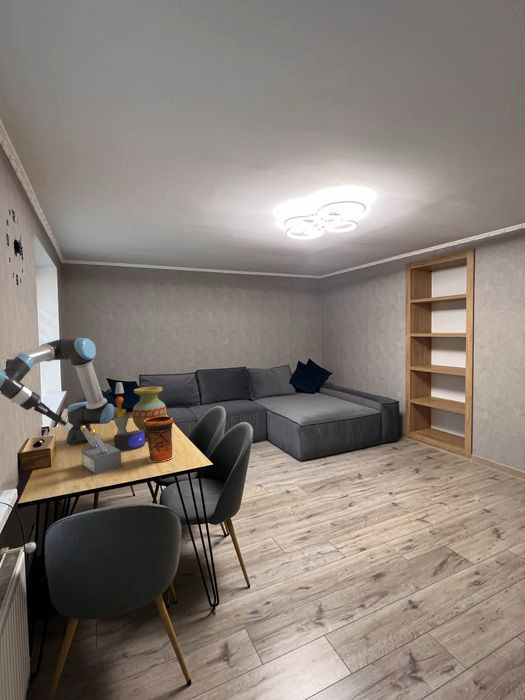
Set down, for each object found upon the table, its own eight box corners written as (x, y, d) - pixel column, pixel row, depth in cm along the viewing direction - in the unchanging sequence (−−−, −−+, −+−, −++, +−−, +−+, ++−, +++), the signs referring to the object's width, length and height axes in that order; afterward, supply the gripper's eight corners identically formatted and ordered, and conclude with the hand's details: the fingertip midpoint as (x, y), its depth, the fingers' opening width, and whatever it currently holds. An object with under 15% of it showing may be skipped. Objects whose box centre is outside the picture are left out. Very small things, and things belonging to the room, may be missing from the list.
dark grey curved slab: (116, 453, 183) (115, 436, 182) (114, 451, 187) (113, 434, 186) (147, 447, 192) (146, 430, 191) (144, 444, 196) (143, 428, 195)
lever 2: (101, 452, 161) (87, 431, 157) (106, 449, 163) (92, 428, 158) (104, 454, 159) (90, 432, 154) (108, 451, 160) (95, 429, 156)
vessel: (144, 465, 164) (142, 423, 164) (146, 455, 178) (144, 417, 178) (175, 461, 168) (173, 420, 168) (175, 452, 182) (173, 414, 181)
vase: (132, 436, 214) (129, 388, 212) (165, 431, 222) (163, 385, 220) (134, 445, 196) (131, 392, 194) (170, 439, 203) (167, 389, 202)
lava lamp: (119, 444, 198) (115, 384, 196) (111, 442, 203) (107, 383, 201) (133, 440, 205) (130, 381, 203) (125, 437, 211) (121, 381, 209)
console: (80, 466, 167) (79, 450, 166) (107, 458, 176) (106, 443, 175) (94, 475, 155) (92, 457, 154) (121, 466, 164) (120, 450, 163)
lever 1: (91, 447, 169) (78, 427, 165) (96, 444, 171) (83, 423, 166) (94, 449, 167) (80, 428, 163) (98, 445, 169) (85, 424, 164)
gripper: (15, 403, 151) (60, 432, 163) (22, 407, 142) (69, 437, 154) (29, 389, 154) (72, 419, 167) (36, 392, 145) (81, 423, 158)
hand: (70, 427), depth 161 cm, fingers closed
